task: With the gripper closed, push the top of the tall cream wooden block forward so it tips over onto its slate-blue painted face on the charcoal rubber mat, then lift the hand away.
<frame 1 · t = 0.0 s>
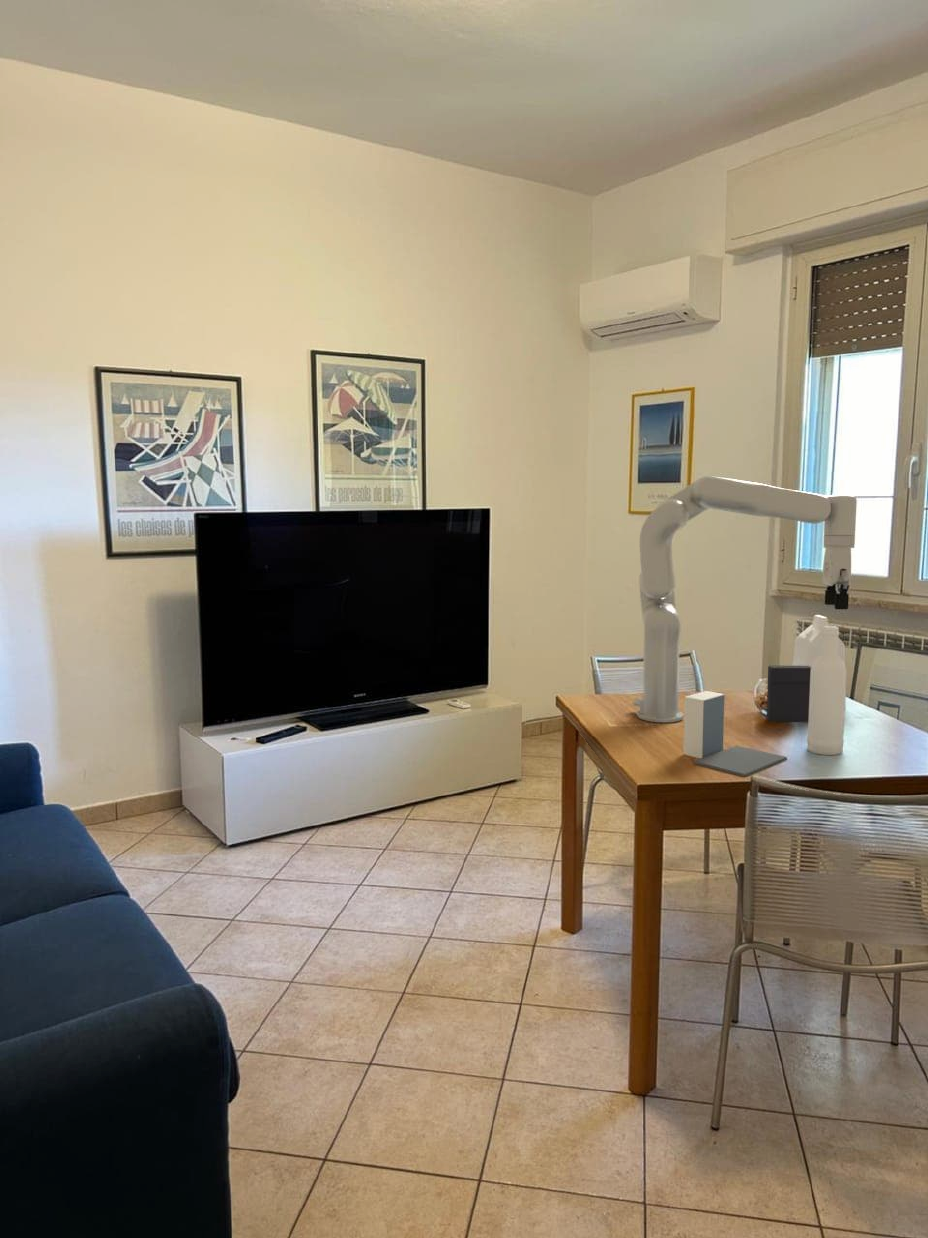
hand: (836, 606, 226), 31 cm above the table, tool pointing down, fingers open, 9 cm apart
milk: (816, 705, 250), on the table
flip block: (703, 752, 204), on the table
bottle: (824, 751, 204), on the table
dark grey box: (788, 721, 232), on the table
mat: (740, 761, 197), on the table
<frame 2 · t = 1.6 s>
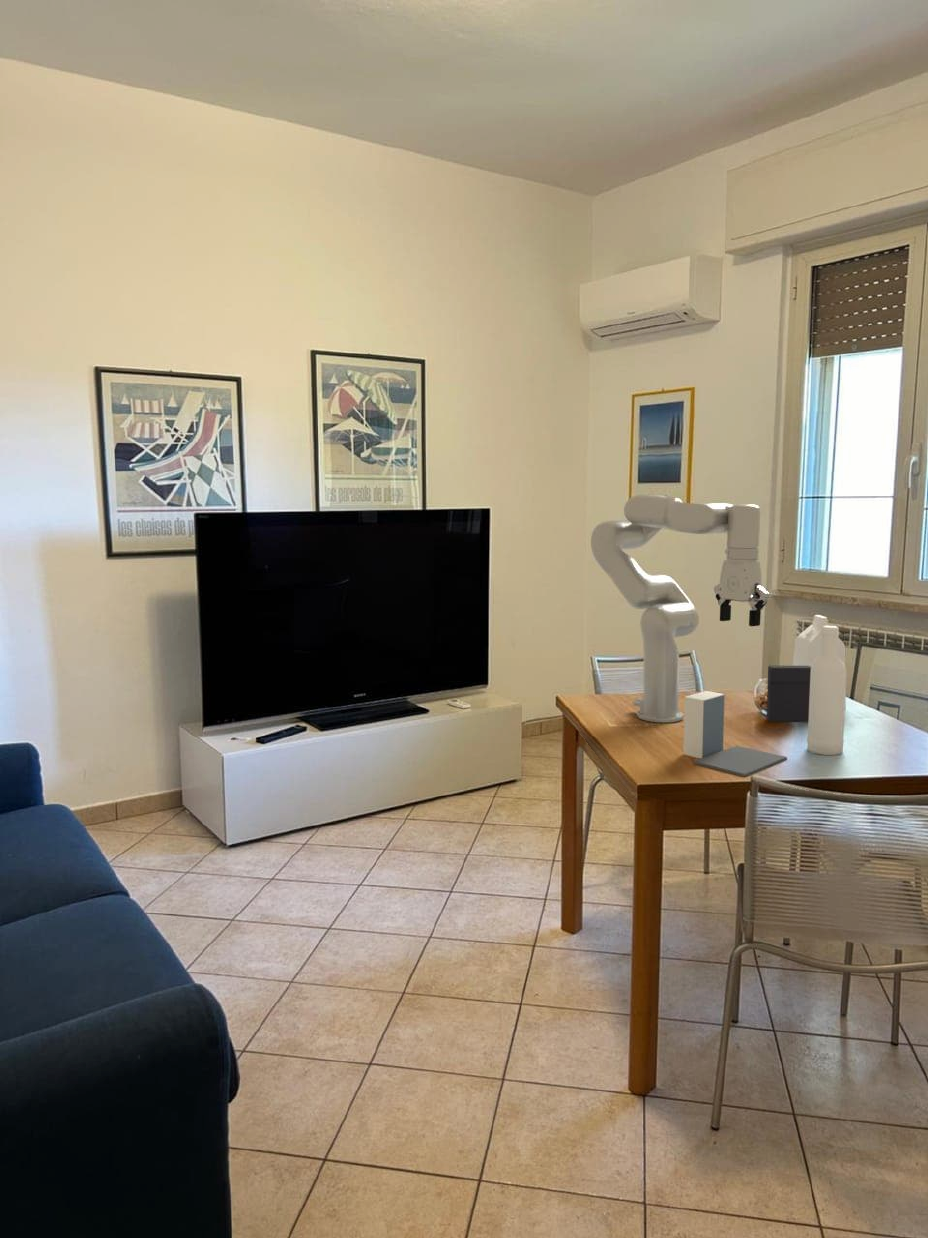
hand: (739, 623, 214), 29 cm above the table, tool pointing down, fingers open, 9 cm apart
nothing on the table moved.
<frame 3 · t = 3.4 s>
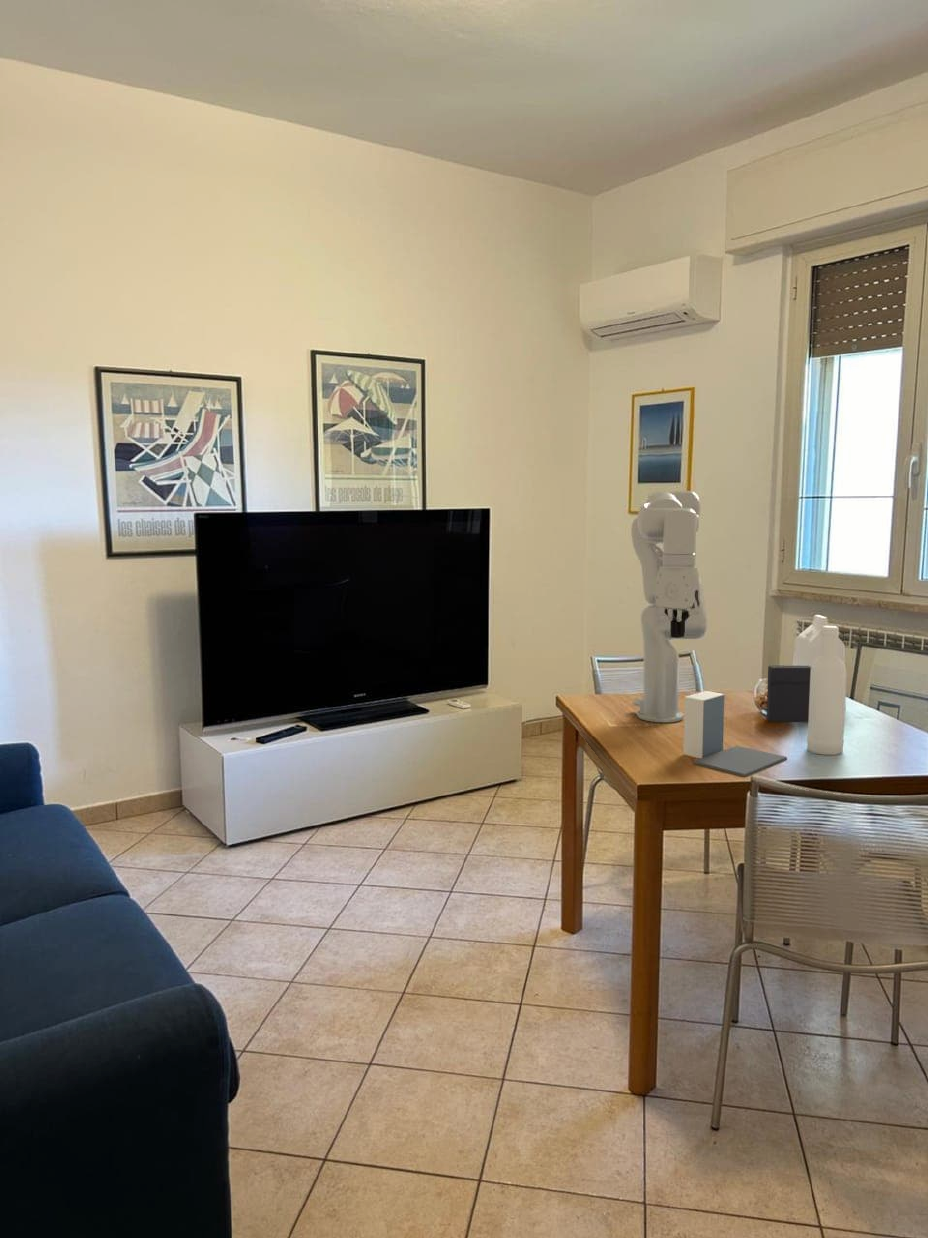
hand: (677, 637, 206), 27 cm above the table, tool pointing down, fingers closed
nothing on the table moved.
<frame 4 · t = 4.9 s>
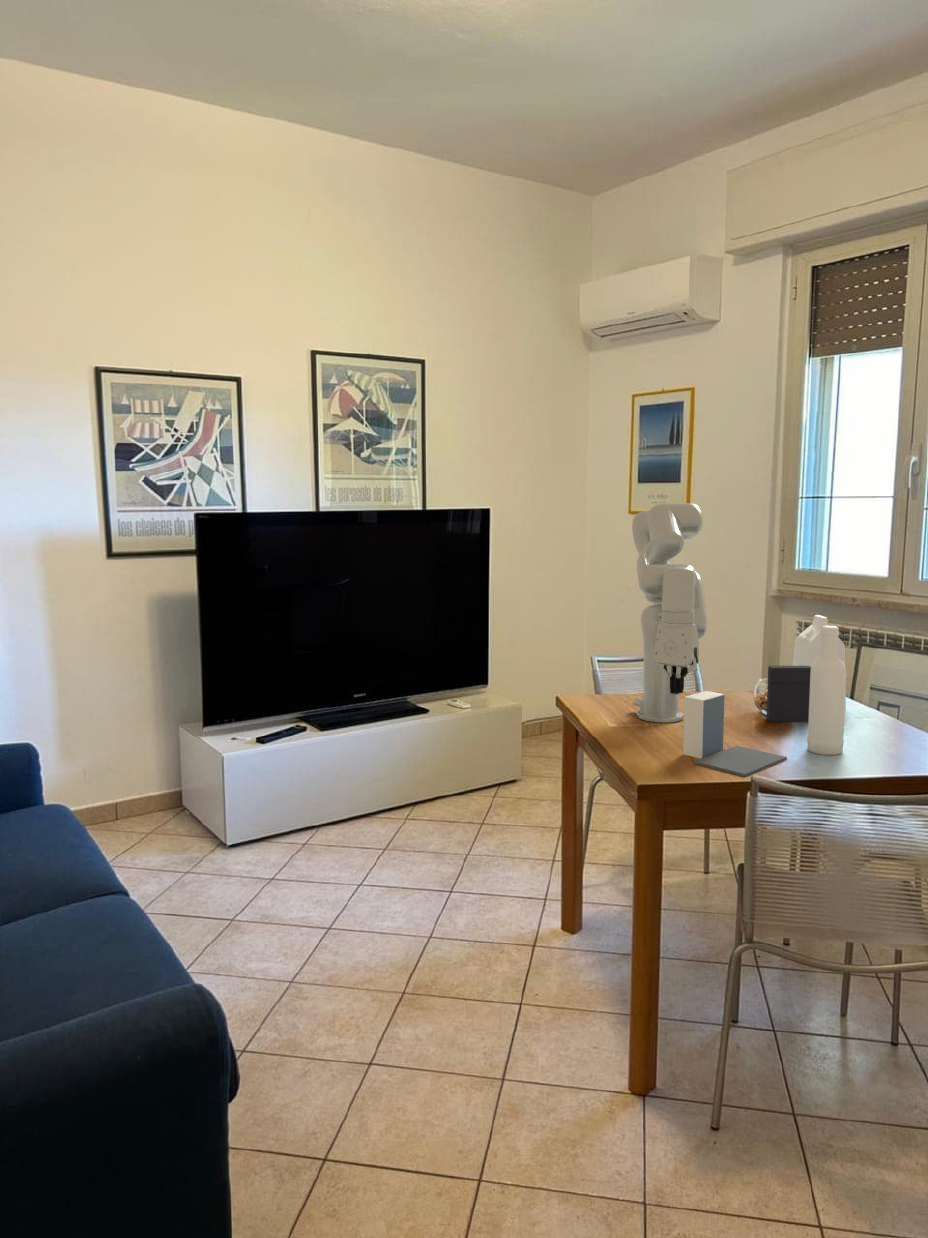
hand: (676, 692, 208), 13 cm above the table, tool pointing down, fingers closed
nothing on the table moved.
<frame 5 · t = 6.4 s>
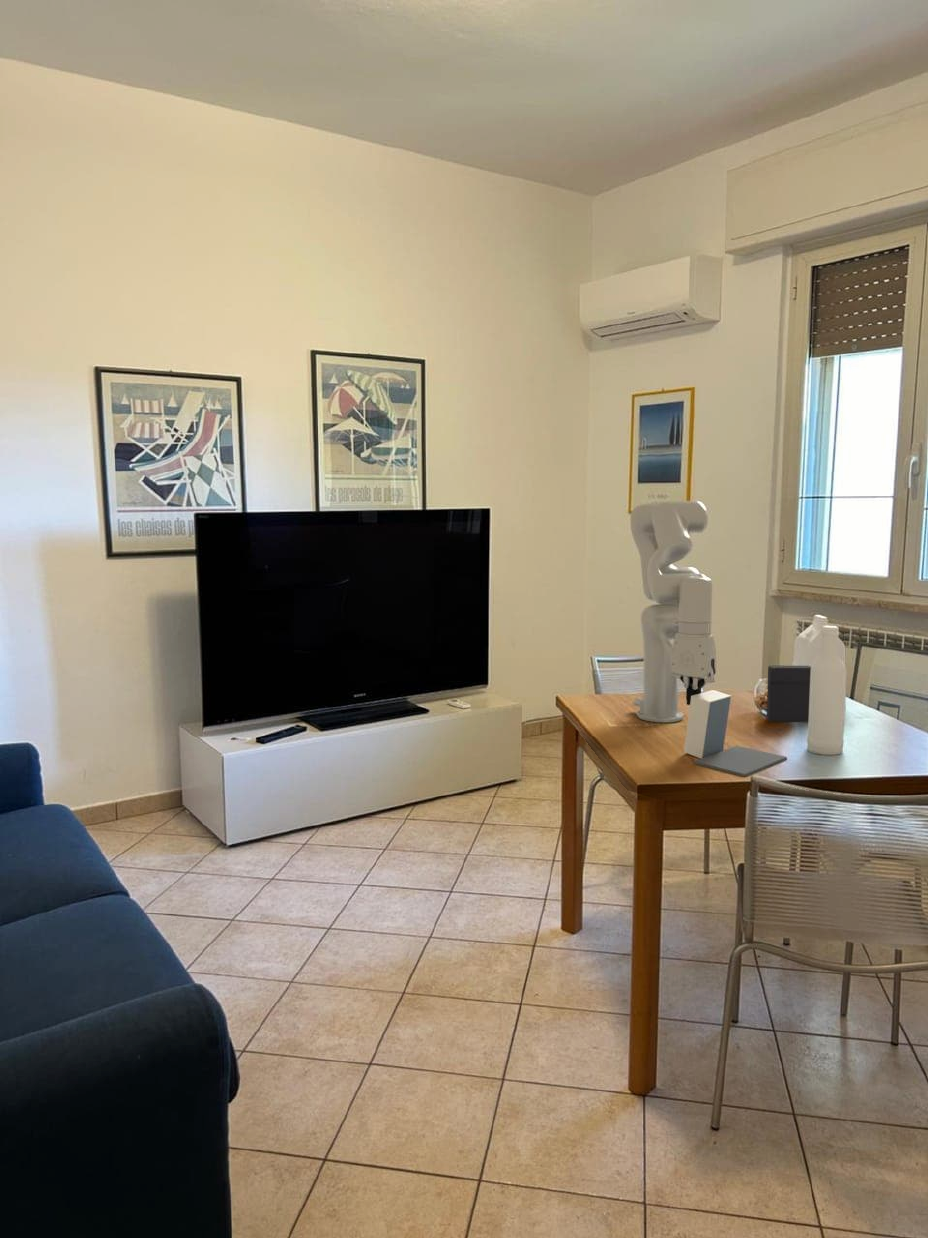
hand: (693, 704, 205), 11 cm above the table, tool pointing down, fingers closed
flip block: (703, 751, 204), on the table, tilted 7°, touching gripper
everything else where it was.
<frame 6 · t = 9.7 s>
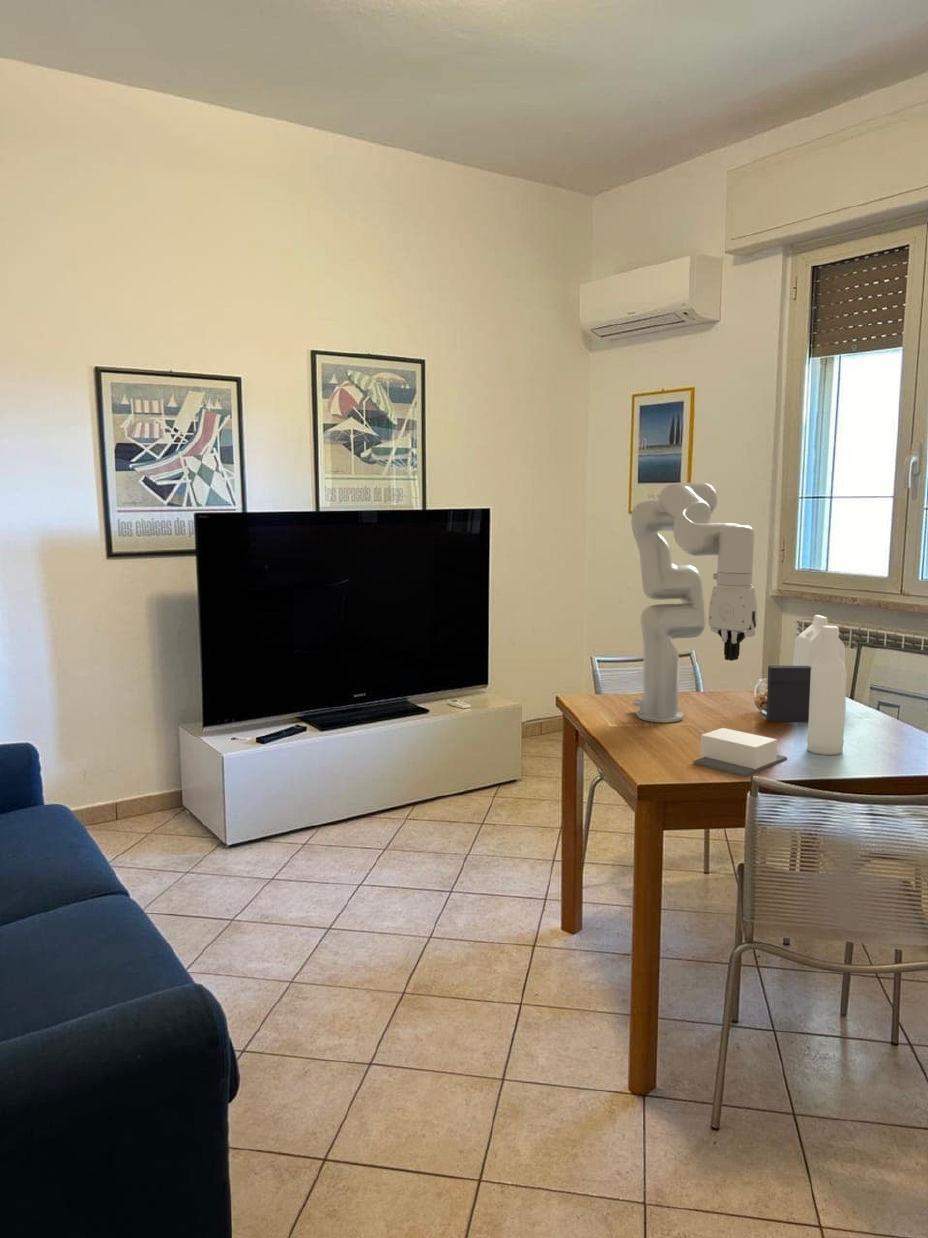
hand: (731, 659, 196), 23 cm above the table, tool pointing down, fingers closed
flip block: (711, 741, 202), point 3 cm above the table, tilted 90°, touching mat
everything else where it was.
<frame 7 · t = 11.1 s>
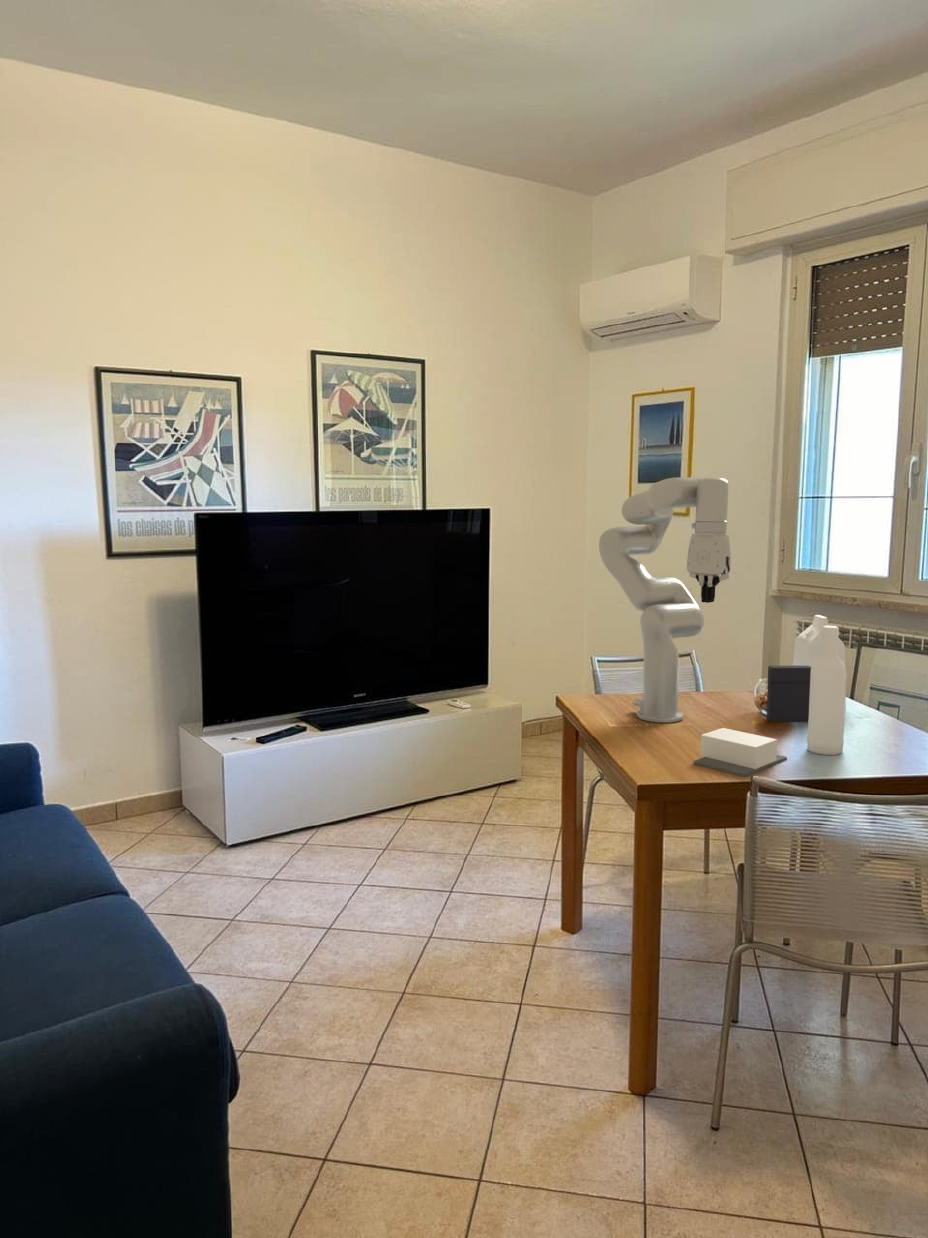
hand: (707, 601, 214), 34 cm above the table, tool pointing down, fingers closed
nothing on the table moved.
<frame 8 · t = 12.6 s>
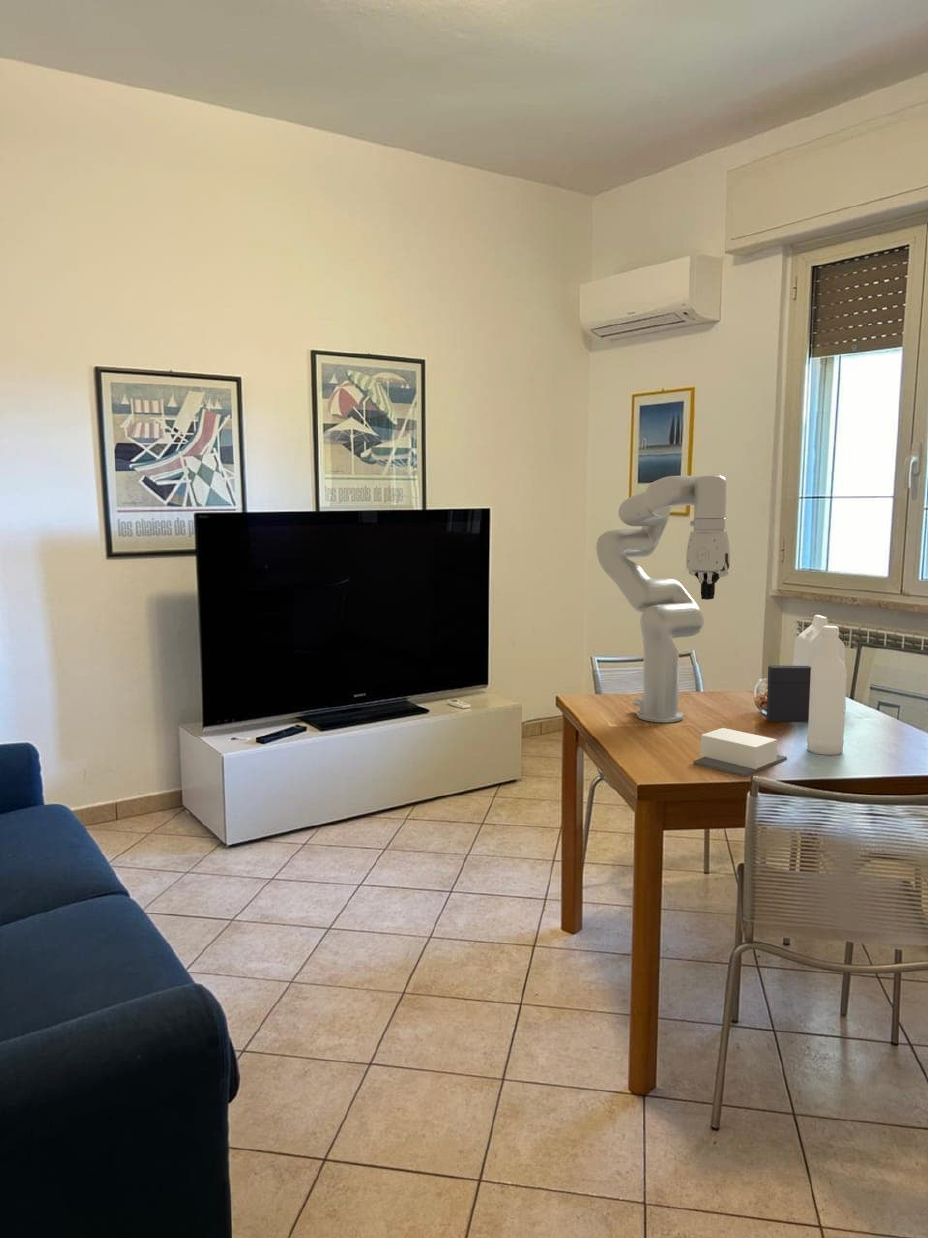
hand: (707, 598, 215), 35 cm above the table, tool pointing down, fingers closed
nothing on the table moved.
at the end: flip block tilted 90°; flip block touching mat; flip block inside the target area (1.8 cm from its centre), point 3.1 cm above the table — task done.
